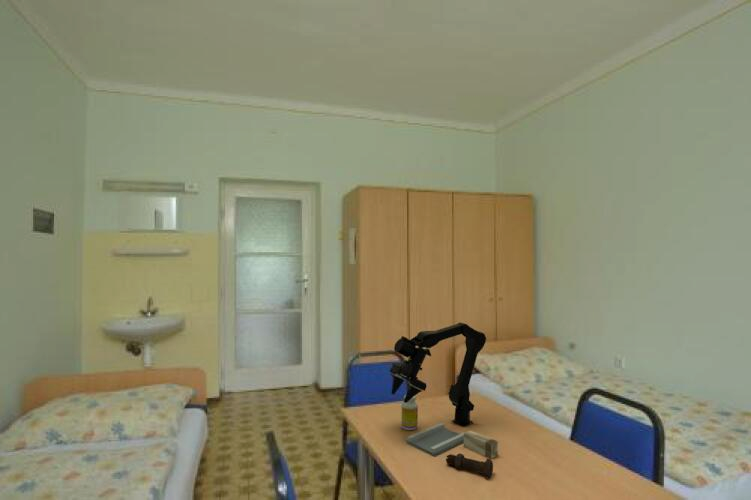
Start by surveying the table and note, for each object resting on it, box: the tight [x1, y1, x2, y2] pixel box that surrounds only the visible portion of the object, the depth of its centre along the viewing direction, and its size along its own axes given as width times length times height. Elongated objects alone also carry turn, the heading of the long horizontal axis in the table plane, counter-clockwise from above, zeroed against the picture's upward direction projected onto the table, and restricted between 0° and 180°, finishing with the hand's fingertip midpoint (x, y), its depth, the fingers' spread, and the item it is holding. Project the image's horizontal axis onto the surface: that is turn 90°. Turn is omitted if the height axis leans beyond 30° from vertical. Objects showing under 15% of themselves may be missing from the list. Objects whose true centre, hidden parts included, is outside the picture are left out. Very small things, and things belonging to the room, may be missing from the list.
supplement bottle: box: [400, 394, 419, 431], centre depth 175 cm, size 7×7×13 cm
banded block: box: [463, 430, 499, 460], centre depth 155 cm, size 4×12×5 cm, turn 42°
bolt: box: [445, 453, 494, 479], centre depth 142 cm, size 6×5×15 cm
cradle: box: [405, 422, 467, 457], centre depth 163 cm, size 20×14×2 cm
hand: (398, 398), depth 168 cm, fingers open, 9 cm apart
